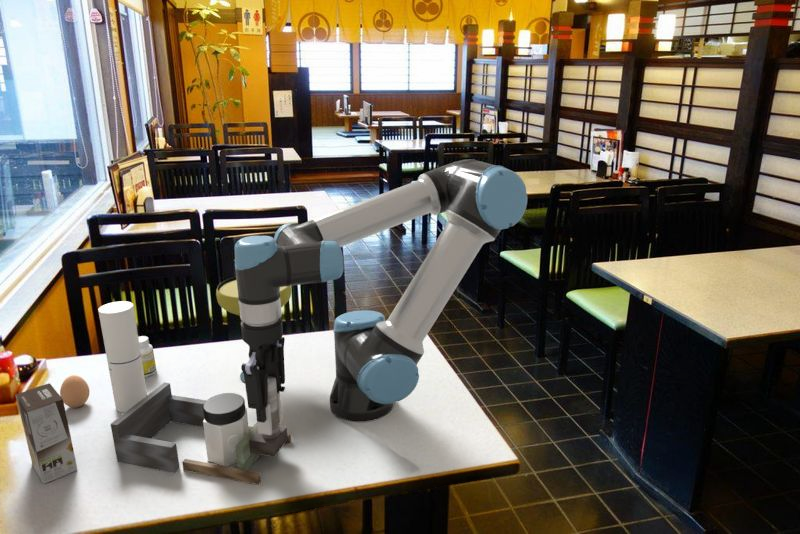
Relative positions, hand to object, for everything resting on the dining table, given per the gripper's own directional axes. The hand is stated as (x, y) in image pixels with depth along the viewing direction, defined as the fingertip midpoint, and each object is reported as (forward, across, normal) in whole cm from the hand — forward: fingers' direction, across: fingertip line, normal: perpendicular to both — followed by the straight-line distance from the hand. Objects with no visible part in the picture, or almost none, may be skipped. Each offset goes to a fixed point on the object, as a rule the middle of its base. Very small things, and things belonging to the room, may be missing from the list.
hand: (270, 426), depth 118 cm
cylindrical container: (+8, -12, -42) cm, 45 cm away
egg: (+8, -8, -54) cm, 55 cm away
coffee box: (+8, +12, -42) cm, 44 cm away
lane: (+8, 0, -15) cm, 17 cm away
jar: (+8, 0, -10) cm, 13 cm away
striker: (+8, 0, -1) cm, 8 cm away
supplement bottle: (+8, -26, -49) cm, 56 cm away
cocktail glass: (+8, -32, -19) cm, 38 cm away
